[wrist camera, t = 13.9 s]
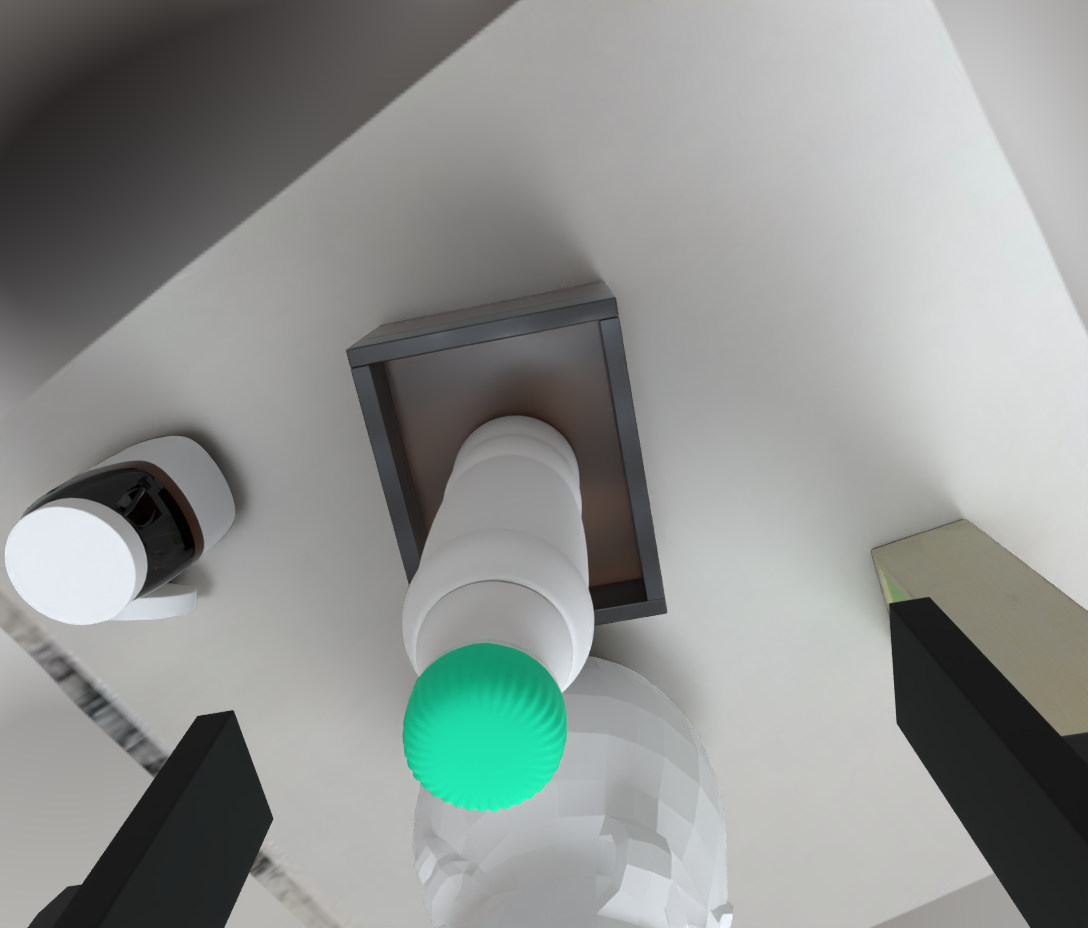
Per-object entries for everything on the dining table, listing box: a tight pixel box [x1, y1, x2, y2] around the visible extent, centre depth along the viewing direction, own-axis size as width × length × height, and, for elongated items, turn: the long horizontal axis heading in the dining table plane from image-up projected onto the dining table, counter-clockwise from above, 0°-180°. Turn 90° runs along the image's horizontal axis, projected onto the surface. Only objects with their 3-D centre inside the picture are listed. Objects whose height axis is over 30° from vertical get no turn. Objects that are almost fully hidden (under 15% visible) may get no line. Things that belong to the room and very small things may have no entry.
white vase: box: [413, 657, 733, 928], centre depth 46 cm, size 19×18×25 cm
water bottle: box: [402, 416, 594, 812], centre depth 34 cm, size 7×7×25 cm
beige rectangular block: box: [872, 520, 1088, 736], centre depth 45 cm, size 8×7×21 cm
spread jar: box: [4, 436, 235, 625], centre depth 48 cm, size 12×11×12 cm
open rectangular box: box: [346, 281, 667, 626], centre depth 48 cm, size 18×14×9 cm
